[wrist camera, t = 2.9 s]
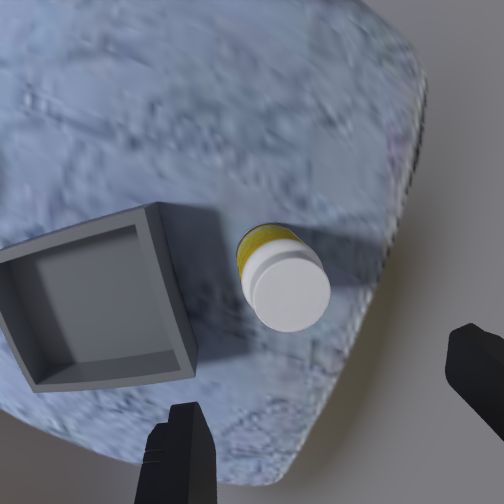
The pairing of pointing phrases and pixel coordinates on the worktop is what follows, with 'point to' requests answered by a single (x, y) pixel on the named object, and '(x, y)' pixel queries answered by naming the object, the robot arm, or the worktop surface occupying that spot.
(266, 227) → the supplement bottle
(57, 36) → the worktop surface
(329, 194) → the worktop surface
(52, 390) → the tray
